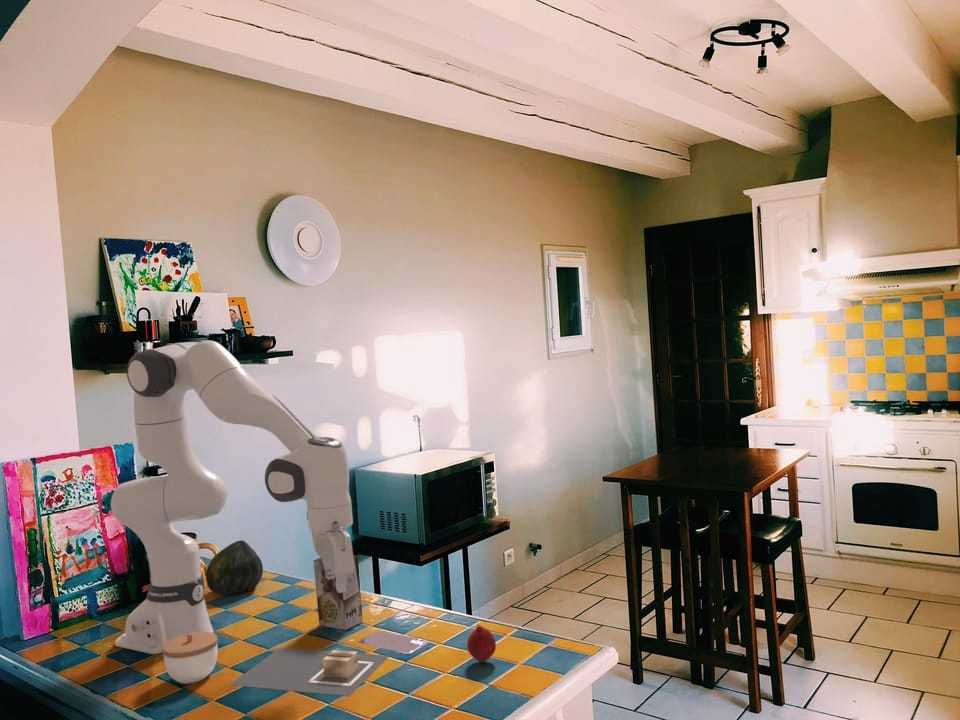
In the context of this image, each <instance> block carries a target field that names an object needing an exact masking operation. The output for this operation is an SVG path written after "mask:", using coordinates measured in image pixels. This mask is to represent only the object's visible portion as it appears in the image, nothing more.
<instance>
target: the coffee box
mask: <svg viewBox="0 0 960 720" xmlns="http://www.w3.org/2000/svg"><path fill="white" fill-rule="evenodd" d="M353 559H354V571H353V573H350V574H347V580H346V591H345V592H342V593H338V592H337V590H336V584H335V582H336V576H335V578H334V579H330V580H328V579H327V578H326V577H325V570H324V566H323V562H322V558H321V557H320V556H319V558H316V559H314V560H313V570H314V582H315V592H316V603H317V612H318V624H319V626H320V625H321V627H326V628H332V629H337V630H344V631H348V630H350V629H351V627H352V628H353V627H356V626H357V625H359V624H361V623H363V622H364V619H363V608H362V598H361V597H362V595H361V583H360V582H361V581H360V571H359V570H360V569H359V556H358V555H353ZM349 628H350V629H349ZM347 629H348V630H347Z"/></svg>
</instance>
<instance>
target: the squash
mask: <svg viewBox="0 0 960 720" xmlns="http://www.w3.org/2000/svg"><path fill="white" fill-rule="evenodd" d="M263 571H264V567H263V562H262V560H261V558H260V556H259V555H258V554H257V552H256V551H255V550H254V549H253V548H252V546H250V544H248V542H246V541H245V540H242V539H241V540H236V541H234V542H232V543H230V544H229V545H227V546H226V547H224V548H223V549H221V550H220V551H218V552H217V553H216V554H214V556H213V557H212V558H211V560H210V561H209V564H208V566H207V568H206V574H205V581H206V584H207V587H208V589H209V590H210V591H211V592H212V593H213V594H216V595H221V596H226V595H229V594H230V593H231V594H236V593H238V592H239V593H242V592H250V591H253V590H254V589H256V587H257V586H258V585H259V582H260V581H261V579H262V577H263Z"/></svg>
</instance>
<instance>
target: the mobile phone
mask: <svg viewBox="0 0 960 720" xmlns="http://www.w3.org/2000/svg"><path fill="white" fill-rule="evenodd" d="M357 644H359V645H364V646H369V647H370V646H371V647H374V648H379V649H386V650H390V651H395V652H396V653H395V654H399V653H402V654H401V655H405V654H410V655H412V654H411V653H413V652H414V651H416V650H417V651H418V649H419V650H420V649H422V648H423V647H425V646H426V645H427V644H428V640H427V639H423V638H419V637H413V636H409V635H407V636H406V635H402V634H396V633H391V632H385V631H380V630H379V631H374V632H373V633H371V634H369V635H367V636H365V637H364V638H362V639H361V640H359V641H358V642H357ZM422 646H423V647H422ZM417 651H416V652H417ZM414 653H415V652H414ZM414 653H413V654H414Z"/></svg>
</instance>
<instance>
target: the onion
mask: <svg viewBox="0 0 960 720" xmlns="http://www.w3.org/2000/svg"><path fill="white" fill-rule="evenodd" d="M496 644H497V643H496V639H495V637H494V635H493V634H492V633H491V631H490V630H489V629H487V628H485V627H484V626H483V625H481V623H477V624H476V628H475V629H473V631H472V632H471V633H470V634H469V635H468V639H467V644H466V645H467V646H466V647H467V651H468V653H469V654H470V656H471V657H472V658H474V659H475V660H476V661H478V662H479V663H481V664H482V663H485V662H486V661H488V660H489V659H490V658H491V657H492V656H493V655H494V654H495V651H496V649H497V647H496V646H497V645H496Z"/></svg>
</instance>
